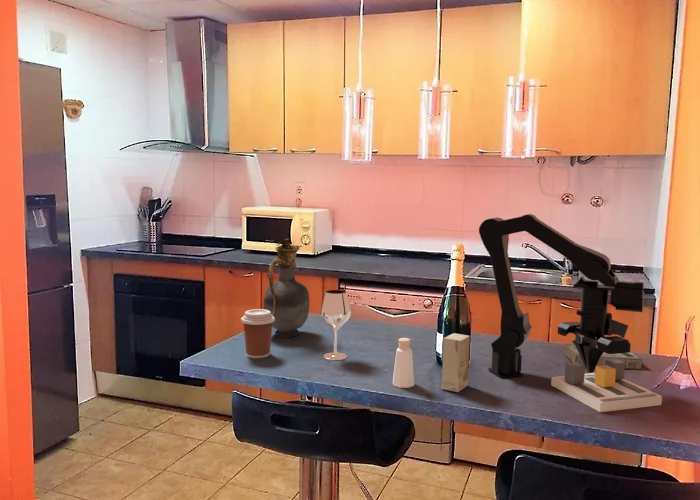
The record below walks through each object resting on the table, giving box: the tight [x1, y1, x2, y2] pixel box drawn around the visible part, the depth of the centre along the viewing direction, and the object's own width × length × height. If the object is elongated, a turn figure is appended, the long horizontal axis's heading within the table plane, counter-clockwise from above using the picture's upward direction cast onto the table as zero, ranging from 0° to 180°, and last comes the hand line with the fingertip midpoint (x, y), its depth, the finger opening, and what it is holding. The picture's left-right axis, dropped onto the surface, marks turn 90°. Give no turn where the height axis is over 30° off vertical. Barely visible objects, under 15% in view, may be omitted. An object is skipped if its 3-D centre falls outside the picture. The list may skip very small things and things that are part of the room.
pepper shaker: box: [392, 337, 415, 389], centre depth 141 cm, size 5×5×11 cm
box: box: [563, 343, 643, 370], centre depth 161 cm, size 11×17×3 cm, turn 86°
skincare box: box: [441, 332, 471, 393], centre depth 139 cm, size 6×4×12 cm
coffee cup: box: [240, 308, 275, 359], centre depth 163 cm, size 9×9×12 cm
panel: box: [550, 359, 663, 413], centre depth 136 cm, size 16×17×6 cm
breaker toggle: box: [594, 365, 616, 387], centre depth 136 cm, size 3×3×4 cm
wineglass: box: [320, 289, 352, 361], centre depth 161 cm, size 8×8×18 cm
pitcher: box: [262, 238, 311, 338], centre depth 182 cm, size 11×19×30 cm, turn 160°
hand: (590, 372), depth 141 cm, fingers closed
